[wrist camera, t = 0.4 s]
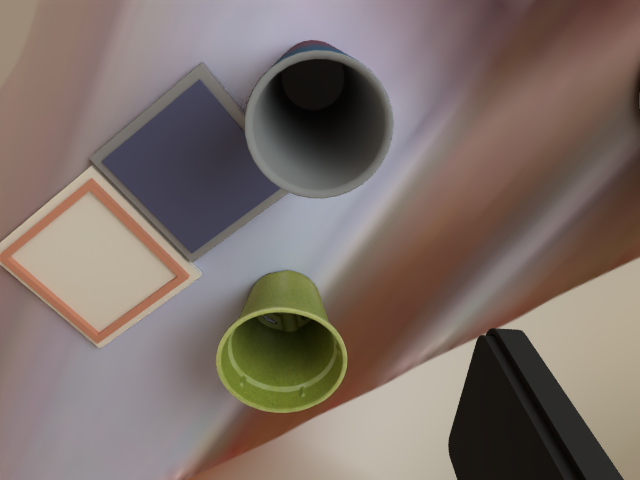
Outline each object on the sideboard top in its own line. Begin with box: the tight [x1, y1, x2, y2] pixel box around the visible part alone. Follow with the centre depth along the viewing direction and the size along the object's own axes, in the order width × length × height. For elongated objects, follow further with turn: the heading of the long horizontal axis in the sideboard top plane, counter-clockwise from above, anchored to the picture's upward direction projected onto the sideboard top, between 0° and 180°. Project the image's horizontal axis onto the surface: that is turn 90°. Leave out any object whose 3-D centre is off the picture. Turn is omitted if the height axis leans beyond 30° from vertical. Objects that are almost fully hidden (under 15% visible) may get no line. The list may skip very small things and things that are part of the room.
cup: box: [244, 40, 393, 198], centre depth 31 cm, size 7×7×15 cm
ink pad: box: [89, 62, 289, 263], centre depth 39 cm, size 11×11×1 cm
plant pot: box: [216, 270, 347, 413], centre depth 41 cm, size 9×9×9 cm
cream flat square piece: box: [0, 164, 202, 348], centre depth 43 cm, size 12×12×1 cm
